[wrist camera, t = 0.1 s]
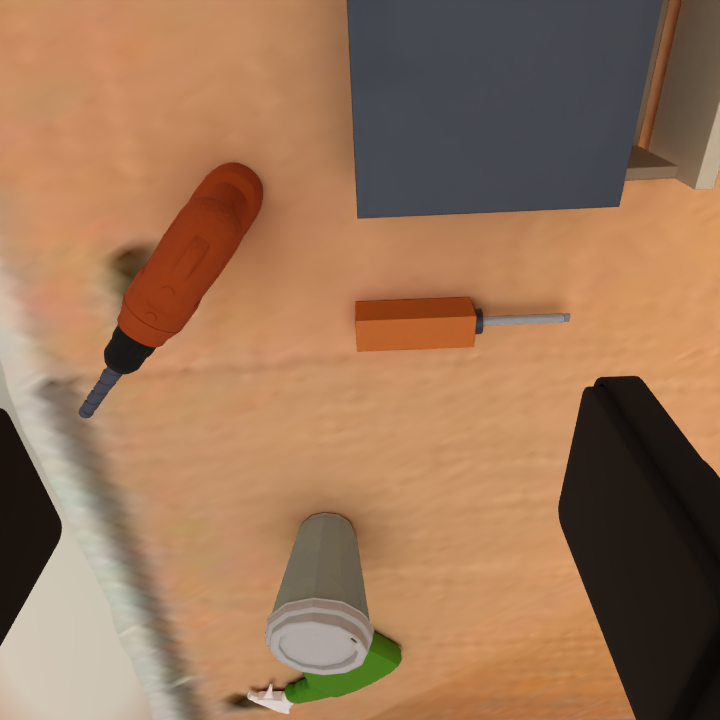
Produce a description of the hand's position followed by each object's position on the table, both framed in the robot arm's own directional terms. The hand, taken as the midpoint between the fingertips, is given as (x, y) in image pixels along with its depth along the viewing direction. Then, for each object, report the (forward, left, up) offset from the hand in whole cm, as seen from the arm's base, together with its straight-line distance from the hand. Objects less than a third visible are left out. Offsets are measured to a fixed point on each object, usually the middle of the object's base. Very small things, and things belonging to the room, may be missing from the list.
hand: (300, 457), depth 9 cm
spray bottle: (+75, -8, -37) cm, 84 cm away
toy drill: (+10, -13, -37) cm, 40 cm away
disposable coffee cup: (+45, -5, -37) cm, 58 cm away
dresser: (-2, +9, -37) cm, 38 cm away
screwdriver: (+17, +9, -37) cm, 41 cm away
